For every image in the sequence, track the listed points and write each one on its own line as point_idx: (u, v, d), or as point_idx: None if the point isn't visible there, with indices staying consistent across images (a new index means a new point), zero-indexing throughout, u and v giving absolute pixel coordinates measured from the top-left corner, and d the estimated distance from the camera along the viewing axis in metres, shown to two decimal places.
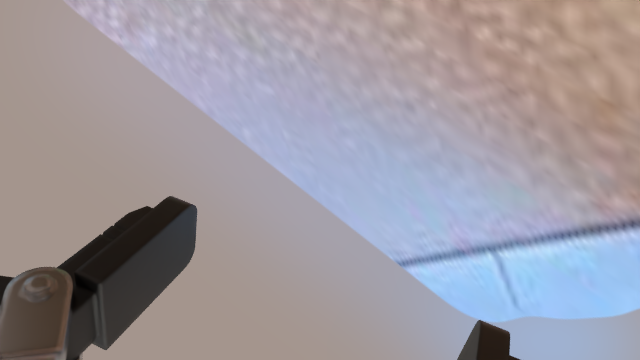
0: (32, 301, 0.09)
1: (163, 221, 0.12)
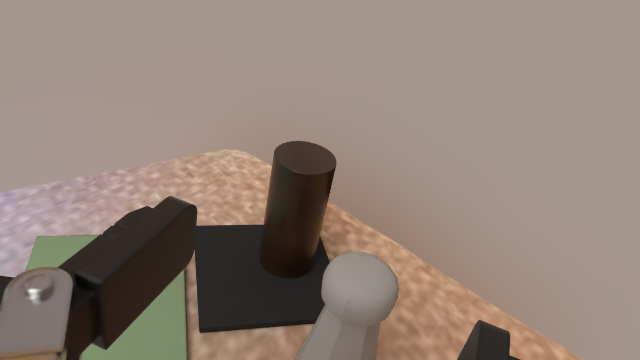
0: (32, 301, 0.09)
1: (163, 221, 0.12)
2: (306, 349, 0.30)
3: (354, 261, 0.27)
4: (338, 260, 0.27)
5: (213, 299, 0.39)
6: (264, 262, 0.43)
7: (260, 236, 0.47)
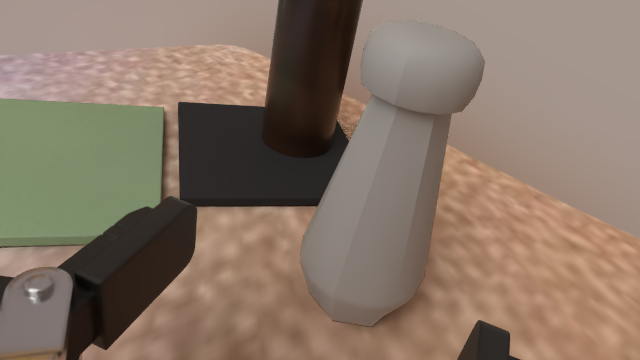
0: (32, 301, 0.09)
1: (163, 221, 0.12)
2: (333, 185, 0.20)
3: (413, 23, 0.17)
4: (387, 23, 0.17)
5: (200, 170, 0.29)
6: (267, 137, 0.33)
7: (263, 116, 0.37)
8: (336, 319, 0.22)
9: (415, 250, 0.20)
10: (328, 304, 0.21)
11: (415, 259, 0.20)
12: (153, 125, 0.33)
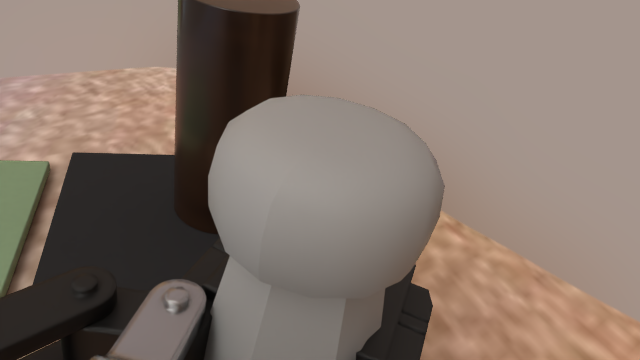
0: (174, 314, 0.10)
1: None
2: None
3: (309, 107, 0.09)
4: (261, 105, 0.09)
5: (68, 266, 0.21)
6: (178, 206, 0.24)
7: None
8: None
9: None
10: None
11: None
12: (23, 192, 0.24)
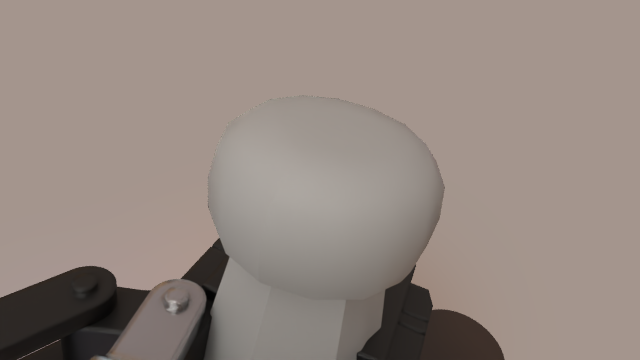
0: (174, 314, 0.10)
1: None
2: None
3: (308, 108, 0.09)
4: (261, 106, 0.09)
5: None
6: None
7: None
8: None
9: None
10: None
11: None
12: None
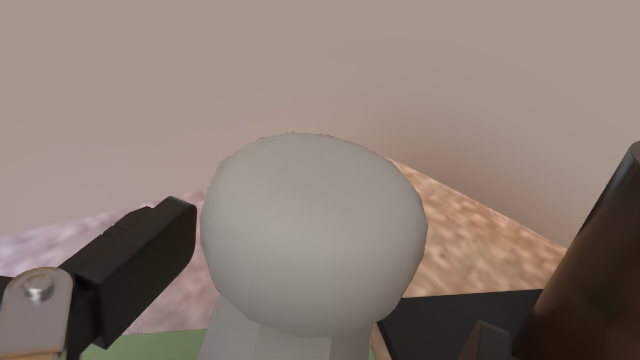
0: (32, 301, 0.09)
1: (163, 221, 0.12)
2: None
3: (297, 148, 0.09)
4: (252, 146, 0.09)
5: None
6: None
7: (494, 318, 0.25)
8: None
9: None
10: None
11: None
12: None
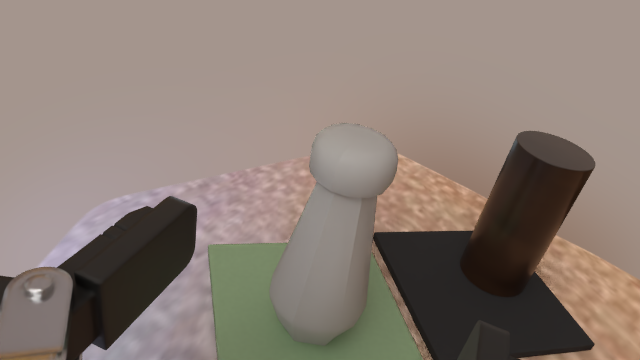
0: (32, 301, 0.09)
1: (163, 221, 0.12)
2: (292, 240, 0.26)
3: (347, 128, 0.24)
4: (329, 128, 0.24)
5: (437, 323, 0.32)
6: (475, 277, 0.36)
7: (450, 245, 0.39)
8: (297, 340, 0.29)
9: (354, 290, 0.26)
10: (290, 329, 0.28)
11: (355, 296, 0.27)
12: (371, 267, 0.35)
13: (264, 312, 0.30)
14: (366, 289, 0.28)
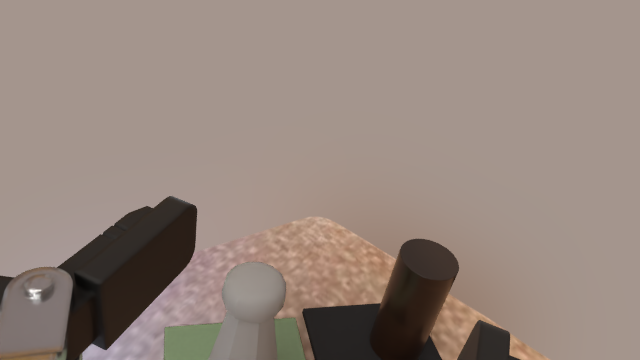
0: (32, 301, 0.09)
1: (163, 221, 0.12)
2: (216, 342, 0.36)
3: (249, 269, 0.33)
4: (236, 268, 0.33)
5: None
6: (378, 350, 0.45)
7: (365, 318, 0.49)
8: None
9: None
10: None
11: None
12: (294, 343, 0.45)
13: None
14: None
